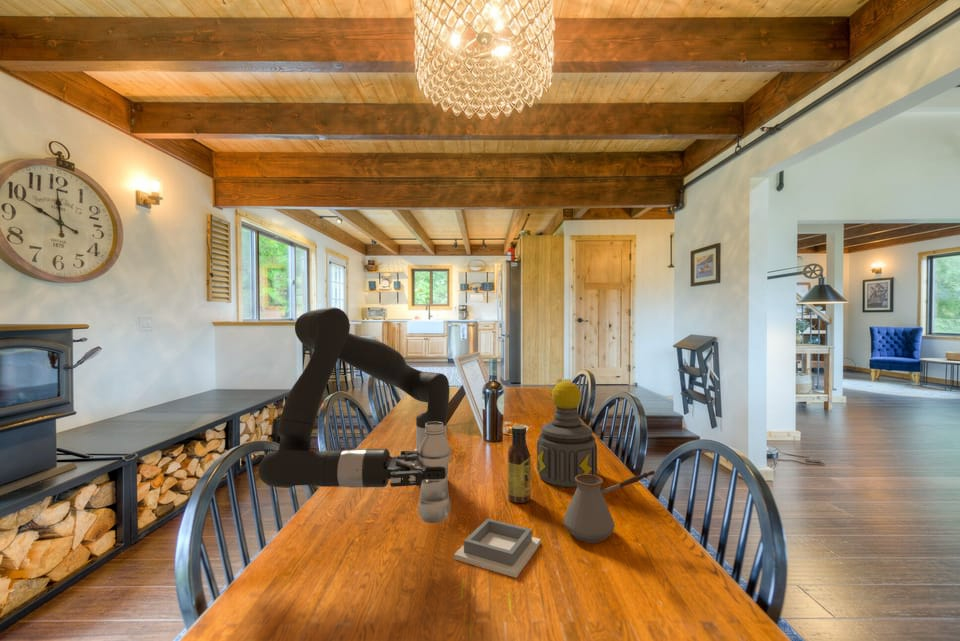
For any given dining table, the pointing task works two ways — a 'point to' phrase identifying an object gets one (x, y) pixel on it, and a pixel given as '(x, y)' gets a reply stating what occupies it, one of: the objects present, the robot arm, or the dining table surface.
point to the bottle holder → (499, 547)
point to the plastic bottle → (434, 490)
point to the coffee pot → (593, 508)
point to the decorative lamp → (566, 441)
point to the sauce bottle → (518, 467)
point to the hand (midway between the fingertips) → (445, 466)
